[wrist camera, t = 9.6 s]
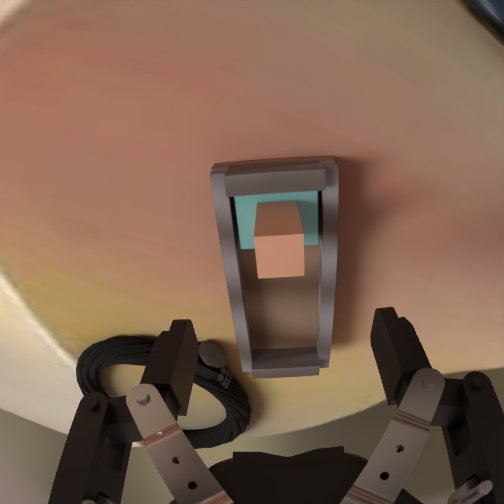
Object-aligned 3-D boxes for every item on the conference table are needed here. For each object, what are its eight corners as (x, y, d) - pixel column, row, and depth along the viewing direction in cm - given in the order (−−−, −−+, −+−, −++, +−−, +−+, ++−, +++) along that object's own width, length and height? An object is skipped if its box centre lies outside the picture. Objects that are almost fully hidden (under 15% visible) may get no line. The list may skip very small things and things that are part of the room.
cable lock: (61, 400, 42) (102, 301, 30) (69, 385, 46) (115, 280, 33) (195, 463, 49) (304, 405, 37) (198, 447, 53) (302, 383, 40)
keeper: (235, 185, 25) (223, 223, 19) (314, 180, 25) (331, 216, 18) (242, 240, 28) (234, 292, 21) (315, 235, 27) (329, 286, 21)
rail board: (214, 163, 26) (204, 178, 22) (331, 155, 25) (343, 168, 21) (243, 349, 37) (240, 378, 33) (326, 345, 36) (331, 373, 32)
